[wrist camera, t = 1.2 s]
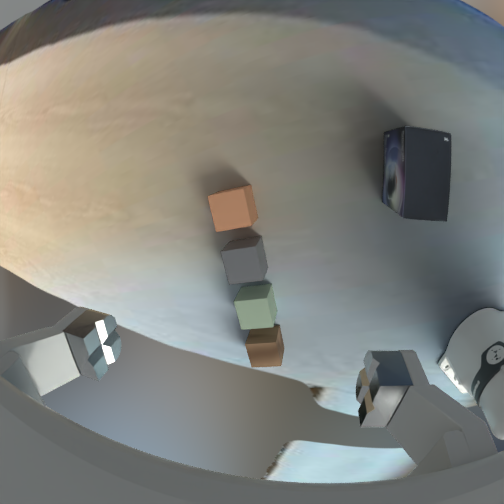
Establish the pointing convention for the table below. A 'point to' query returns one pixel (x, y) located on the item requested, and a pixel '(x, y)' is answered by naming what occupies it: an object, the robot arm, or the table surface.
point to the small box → (417, 172)
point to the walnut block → (265, 347)
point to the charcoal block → (245, 260)
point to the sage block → (256, 307)
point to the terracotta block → (233, 208)
